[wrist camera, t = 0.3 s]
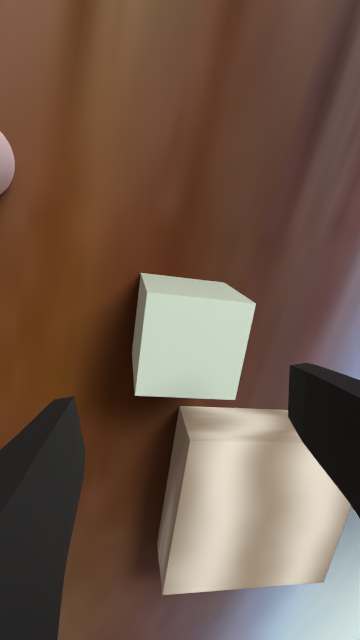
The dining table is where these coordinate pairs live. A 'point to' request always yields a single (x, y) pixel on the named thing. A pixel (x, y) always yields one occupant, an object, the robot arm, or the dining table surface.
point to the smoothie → (6, 164)
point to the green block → (189, 338)
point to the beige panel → (245, 504)
